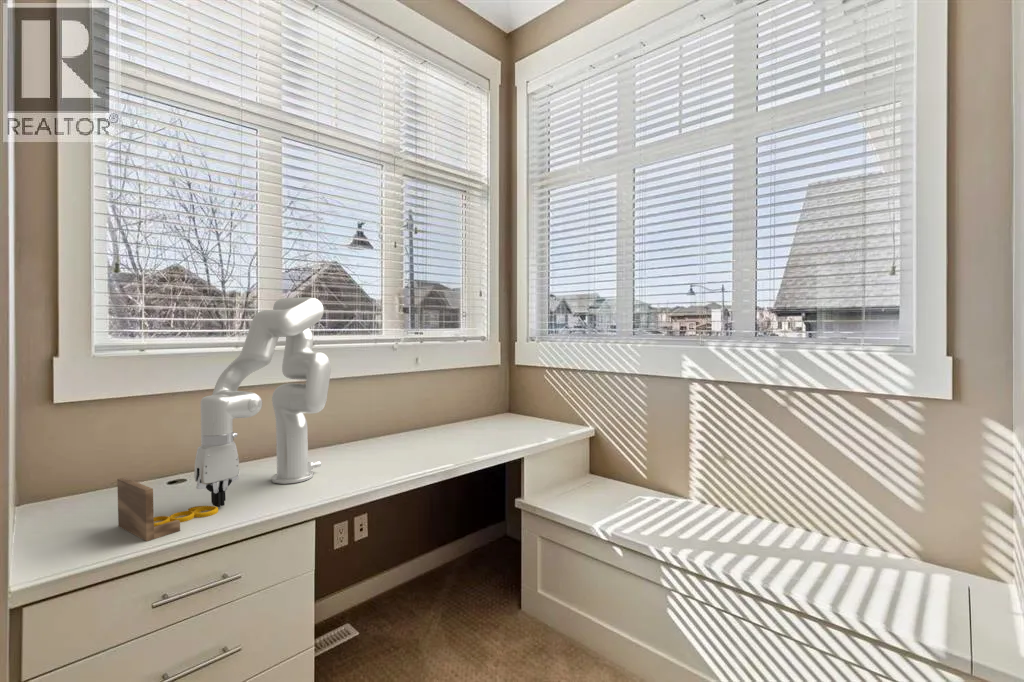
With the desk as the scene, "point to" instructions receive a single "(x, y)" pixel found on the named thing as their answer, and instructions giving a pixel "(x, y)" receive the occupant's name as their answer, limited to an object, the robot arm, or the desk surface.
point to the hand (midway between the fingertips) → (218, 505)
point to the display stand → (140, 511)
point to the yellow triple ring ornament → (191, 514)
